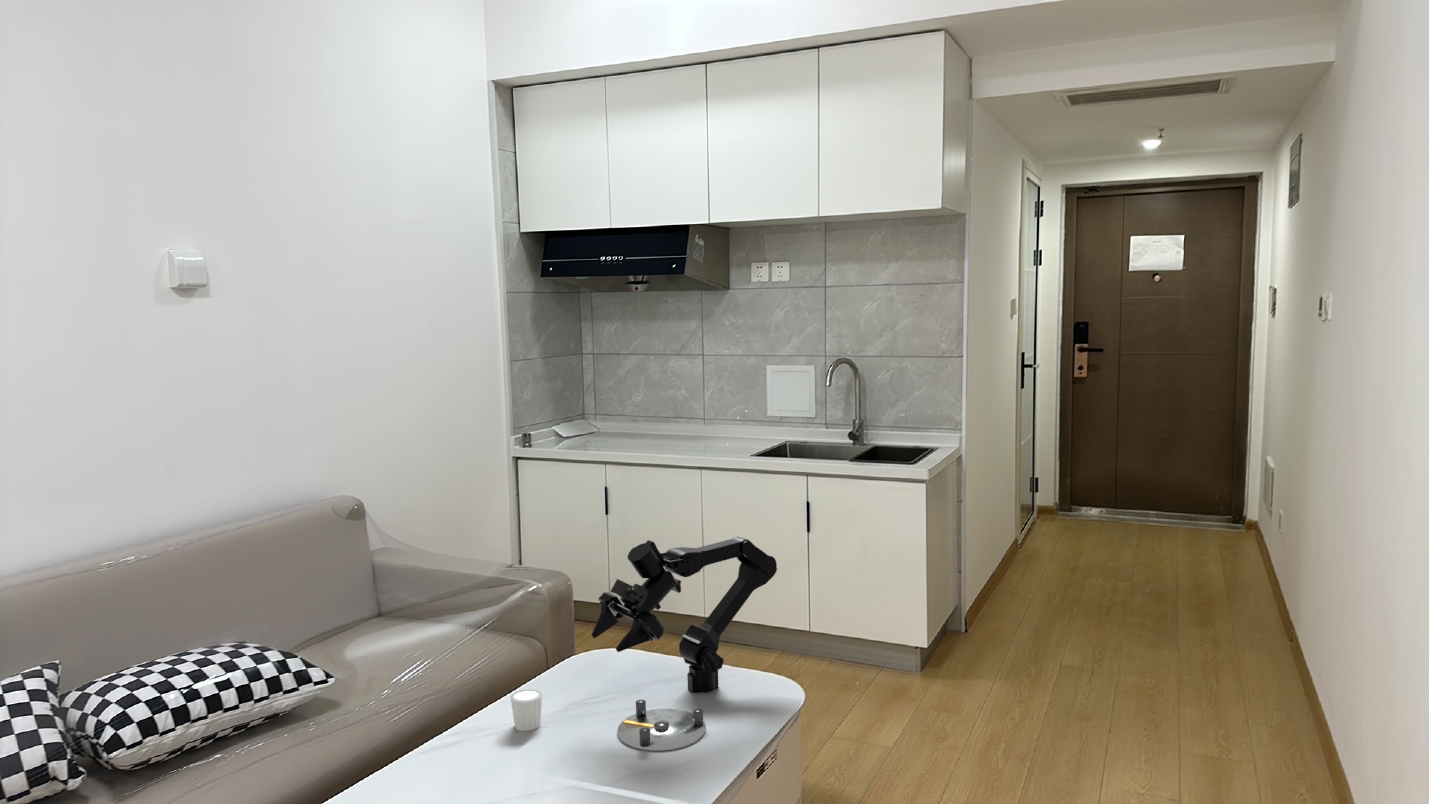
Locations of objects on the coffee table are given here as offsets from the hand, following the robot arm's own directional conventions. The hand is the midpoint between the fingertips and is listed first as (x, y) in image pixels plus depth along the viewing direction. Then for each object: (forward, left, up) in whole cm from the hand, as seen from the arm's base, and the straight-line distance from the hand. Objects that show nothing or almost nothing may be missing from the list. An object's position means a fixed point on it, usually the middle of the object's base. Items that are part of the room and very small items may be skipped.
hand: (604, 643), depth 206 cm
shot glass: (+15, -9, -19) cm, 26 cm away
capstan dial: (-9, +10, -18) cm, 22 cm away
